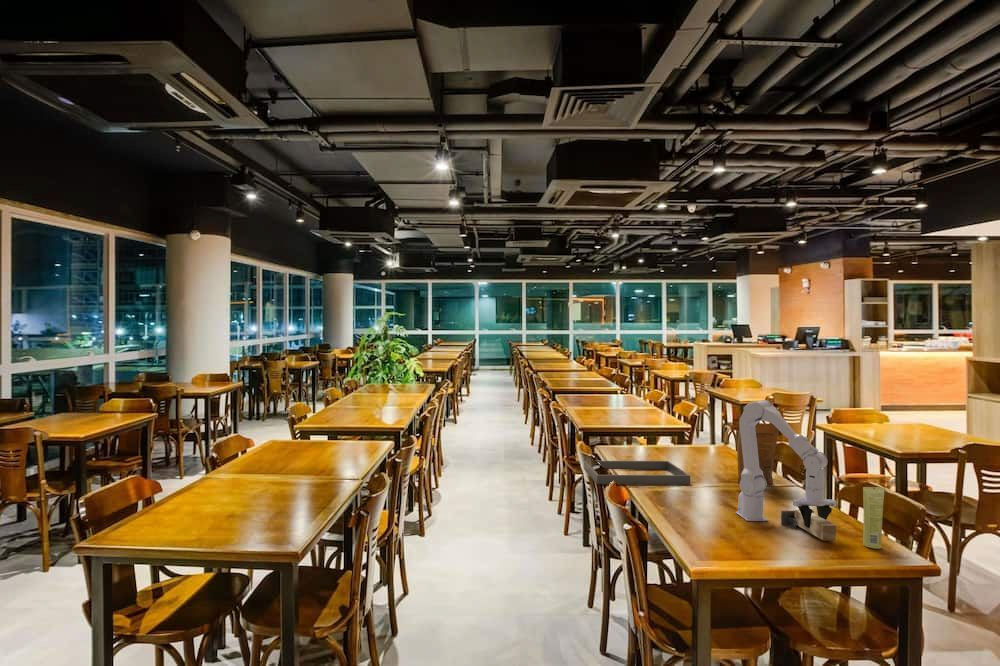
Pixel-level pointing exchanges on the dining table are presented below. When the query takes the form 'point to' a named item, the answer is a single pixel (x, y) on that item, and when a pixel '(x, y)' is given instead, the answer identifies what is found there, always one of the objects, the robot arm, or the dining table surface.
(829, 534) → the rail
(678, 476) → the paper frame
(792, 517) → the bracket
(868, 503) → the tube
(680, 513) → the dining table surface
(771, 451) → the pancake mix bag
